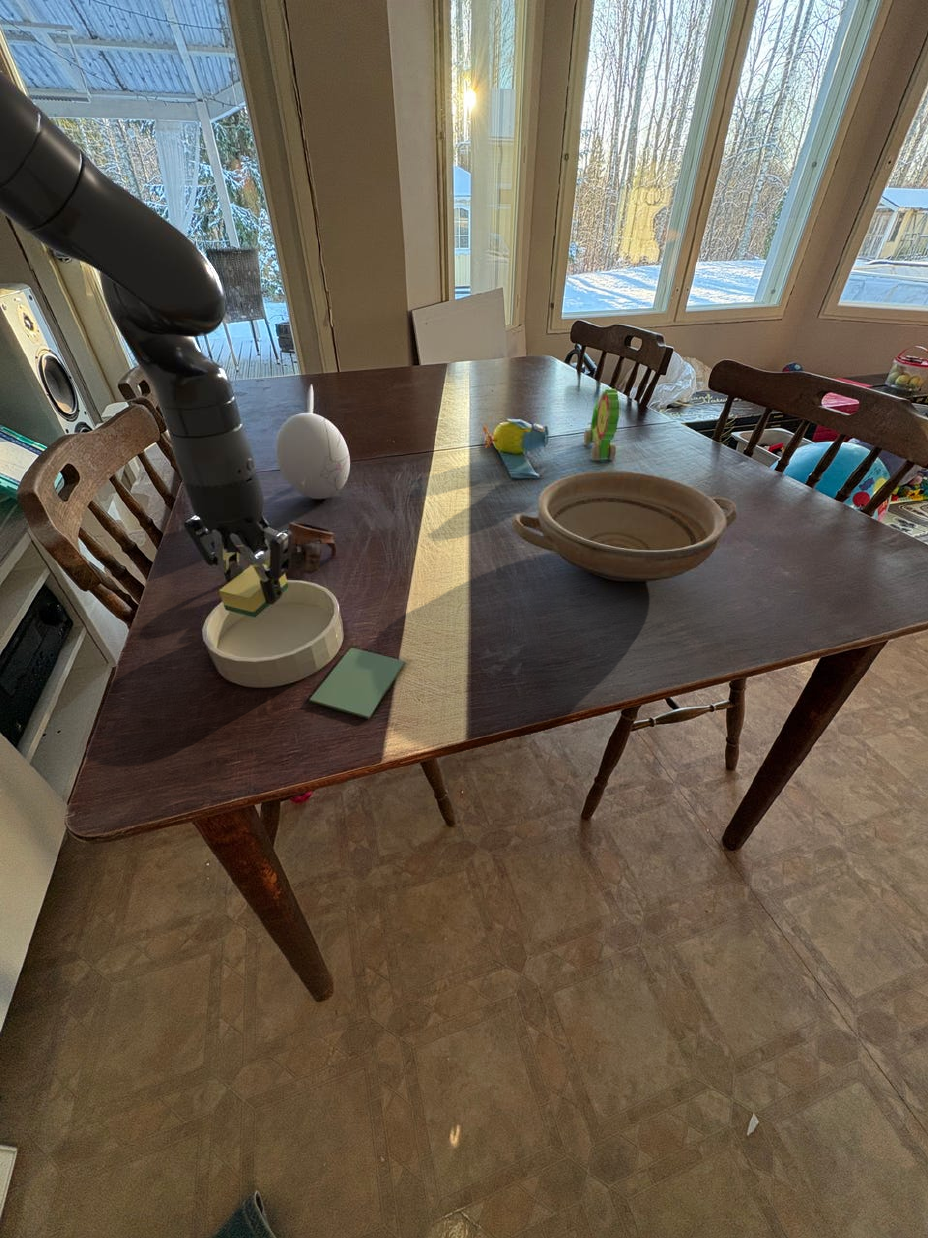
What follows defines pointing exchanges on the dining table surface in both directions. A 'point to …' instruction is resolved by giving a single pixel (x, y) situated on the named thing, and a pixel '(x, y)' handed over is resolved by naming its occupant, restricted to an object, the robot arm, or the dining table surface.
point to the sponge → (247, 593)
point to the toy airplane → (517, 445)
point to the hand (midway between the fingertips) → (257, 596)
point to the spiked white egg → (312, 454)
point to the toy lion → (603, 426)
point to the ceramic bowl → (627, 524)
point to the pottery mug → (308, 547)
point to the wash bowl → (276, 637)
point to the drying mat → (358, 682)
